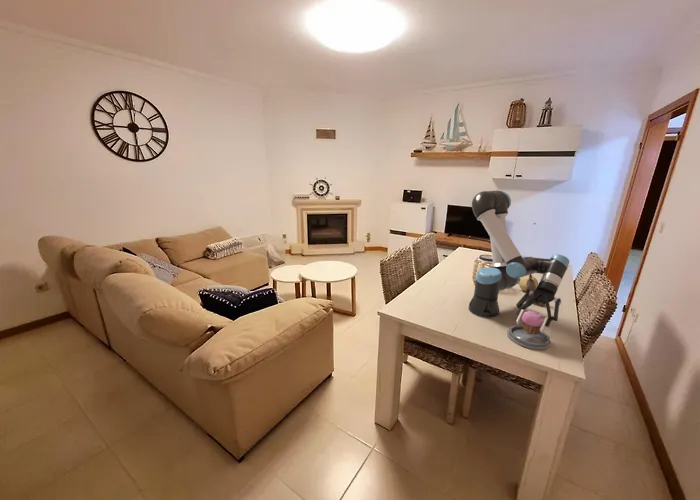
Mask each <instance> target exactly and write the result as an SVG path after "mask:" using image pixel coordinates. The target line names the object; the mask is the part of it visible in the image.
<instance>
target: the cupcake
mask: <svg viewBox="0 0 700 500" xmlns="http://www.w3.org/2000/svg"><path fill="white" fill-rule="evenodd" d="M544 320H545V318H544V317H543V315H542V314H541V313H540V312H537V311H533V310H529V311H524V314H523V315H522V317H521V321H522V325H523V328H524V330H525V331H526V332H527V333H528V334H538V333H539V331H540V329H541V326H542V324H543V322H544Z"/></svg>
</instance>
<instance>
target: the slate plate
mask: <svg viewBox="0 0 700 500" xmlns="http://www.w3.org/2000/svg"><path fill="white" fill-rule="evenodd" d="M506 335H507V338H508V339H509V340H510V341H512V343H514V344H516V345H518V346H520V347H523V348H525V349H528V350H534V351H546V350H548V349H550V348H551V345H552V341H551V338H550V336H549V335H548V334H546V333H545V332H544V331H543V333H541V332H540V331H539V333H538V334H528V333H527V332H526V331H525V330H524V328H523V324H514V325H512V326H510V327H508V330H507V334H506Z"/></svg>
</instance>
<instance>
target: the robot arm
mask: <svg viewBox="0 0 700 500" xmlns="http://www.w3.org/2000/svg"><path fill="white" fill-rule="evenodd" d="M511 205H512V199H511V197H510V195H509V194H508V193H507V192H505V191H504V190H483V191H481V192H478V193H477V194H475V195H474V196H473V198H472V201H471V209H472V212H473V215H474V217H475V218H476V220H477V221H480V222H481V224H482V226H483V227H484V229H485V231H486V232H487V234H488V236H489V241H490V249H491V256H492V257H491V258H492V263H491V264H490V267H481V268H480V269H478V270H477V272H476V276H475V284H474V285H475V286H474V291H473V296H472V298H471V300H470V301H469V304H468V311H470V312H471V313H472V314H474V315H476V316H479V317H481V318H482V317H484V318H496V317H498V316H499V315H500V307H499V306H500V305H499V301H498V299H499V292H501V291H504V290H507V289H508V290H509V289H512V288H513V287H515V286H516V285H518V284H517V283H518V282H519V279H520V277H524V276H527V275H530V274H531V275H533V274H542V276H541V278H540V279H539V281H538V286H537V288H536V290H535V291H530V290H529V289H528V290H527V291H525V293H524V295H523V296H522V297H521V298H520V299H519V301H518V302H517V303H516V307H517V309H518V310H517V313H516V315H517V318H516V321H515V322H516V325H520V323H521V321H522V320H521V317H522V315H523V314H524V313H525V310H527V309H528V308H529V307H531V306H532V305H534V304H533V303H536V302H541V303H543V304H545V307H546V312H547V317H546V316H545V318H544V322H543V324H542V326H541V328H540V332H541V333H543V332H544V331H545V329H546V327H549V326H550V325H551V323H552V321H554V322H557V321H558V319H559V309H560V305H561V304H562V299H561V298H557V297H556V294H557V291H558V289H559V288H560V286H561V283H562V281H563V277H564V276H565V274H566V271H567V270H568V267H569V265H570V259H569V258H568V257H567V256H566V255H563V254H559V253H558V254H557V253H556V254H552V255H551V257H550V258H541V257H533V256H522V254H521V253H520V251H519V249H518V248H517V246H516V245H515V243H514V242H513V240H512V239H511V237H510V235H509V234H508V229H507V222H506V221H507V220H506V217H507V215H508V214H509V208H510V207H511ZM532 294H534V297H532V299H530V300H529V301H527V302H525V301H526V300H527V299H528V298H529V296H531V295H532ZM553 301H554V311H553V315H552V311H551V305H550V303H551V302H553Z"/></svg>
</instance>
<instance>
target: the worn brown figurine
mask: <svg viewBox="0 0 700 500" xmlns="http://www.w3.org/2000/svg"><path fill="white" fill-rule="evenodd" d="M532 276H533V274H530V275H529V279H528V280H527V282H526V284H527V287H526V291H527V290H528V289H529V290H530V291H535V290H536V286H535V283H534V281H533V280H532ZM526 291H525V292H526ZM532 297H534V294H532V295H531V296H529V298H528V299H527V300H526V301H525V302H524V303H526V302H527V301H529V300H530V299H532ZM532 305H534V306H537V307H541V308H543V307H546V304H543V303H541V302H536V303H533V304H532Z"/></svg>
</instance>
